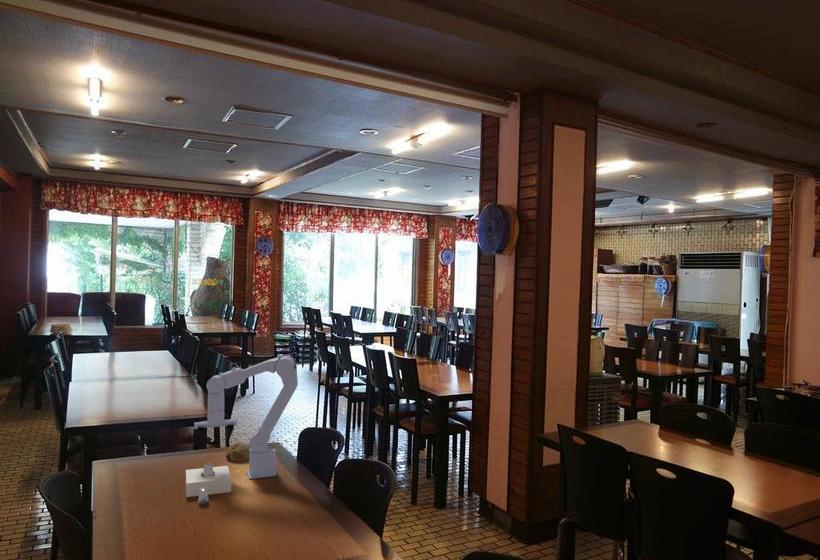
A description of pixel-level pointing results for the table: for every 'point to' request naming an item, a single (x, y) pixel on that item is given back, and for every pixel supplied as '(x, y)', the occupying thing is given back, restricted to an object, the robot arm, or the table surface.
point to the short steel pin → (203, 495)
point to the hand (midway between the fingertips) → (215, 447)
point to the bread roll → (238, 452)
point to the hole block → (208, 481)
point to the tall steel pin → (208, 469)
